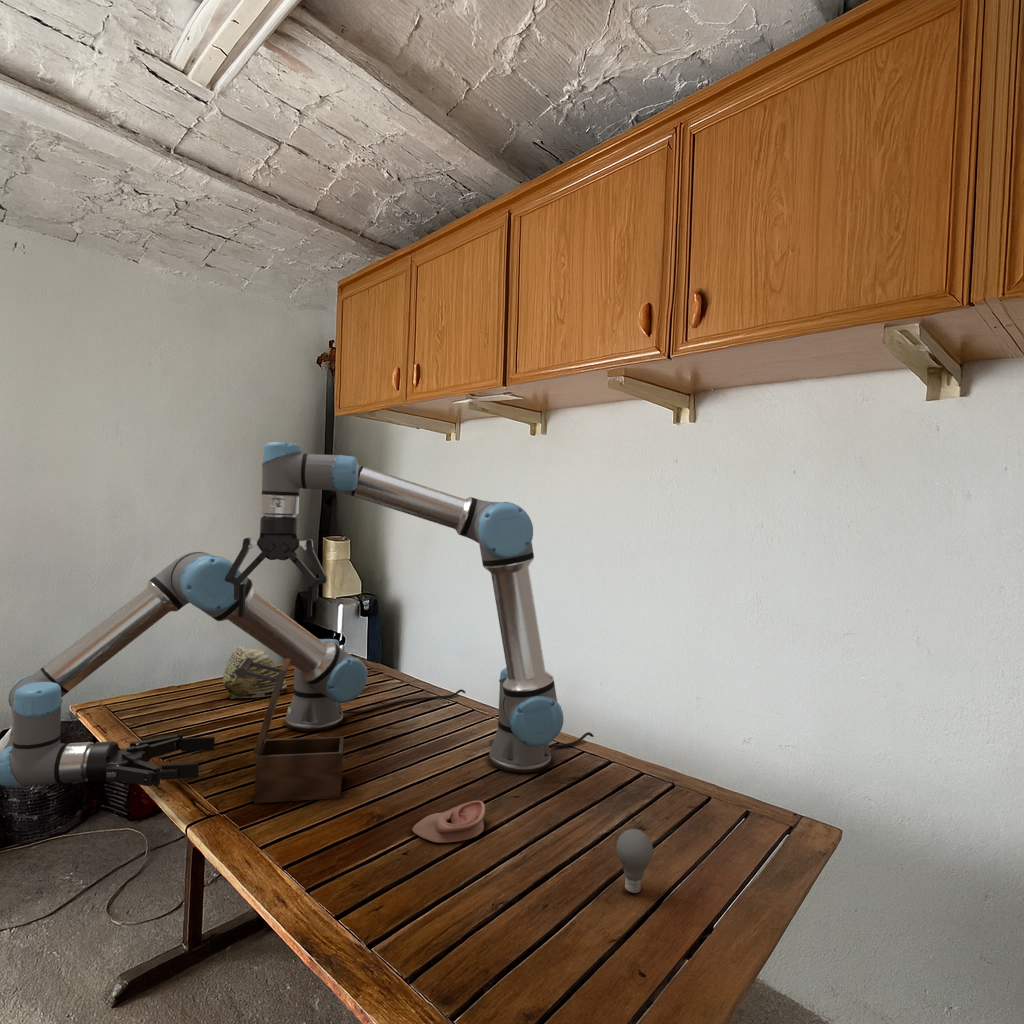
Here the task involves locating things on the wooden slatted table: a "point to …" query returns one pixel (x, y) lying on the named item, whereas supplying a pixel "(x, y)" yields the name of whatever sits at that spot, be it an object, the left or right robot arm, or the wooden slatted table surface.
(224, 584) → the left robot arm
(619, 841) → the light bulb
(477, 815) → the anatomical model
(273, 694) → the lid
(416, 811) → the wooden slatted table surface
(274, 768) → the chest
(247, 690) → the fossil
